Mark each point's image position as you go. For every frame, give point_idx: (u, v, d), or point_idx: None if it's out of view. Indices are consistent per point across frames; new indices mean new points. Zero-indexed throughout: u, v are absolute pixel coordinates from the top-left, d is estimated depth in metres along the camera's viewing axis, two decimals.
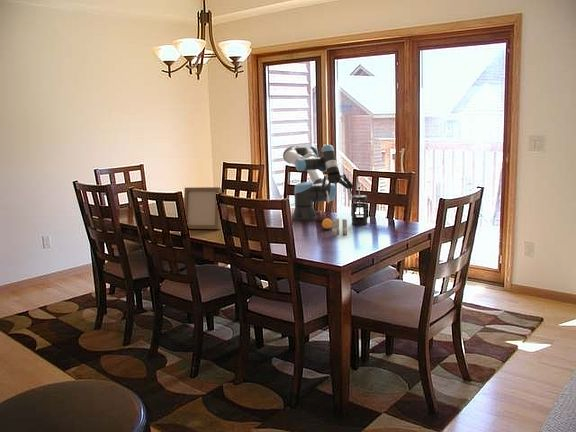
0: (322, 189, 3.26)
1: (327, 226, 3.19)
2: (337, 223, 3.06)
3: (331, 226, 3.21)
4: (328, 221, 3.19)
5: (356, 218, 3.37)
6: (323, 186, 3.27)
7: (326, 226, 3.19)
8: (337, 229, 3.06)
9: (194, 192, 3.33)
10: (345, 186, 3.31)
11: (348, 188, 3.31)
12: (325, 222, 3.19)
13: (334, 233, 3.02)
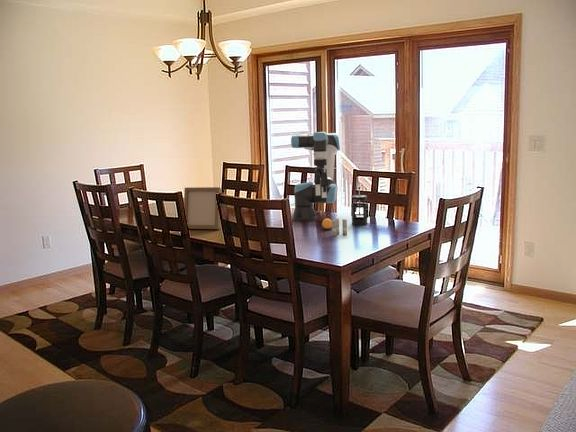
0: (314, 182, 3.33)
1: (327, 226, 3.19)
2: (337, 223, 3.06)
3: (331, 226, 3.21)
4: (328, 221, 3.19)
5: (356, 218, 3.37)
6: (314, 178, 3.32)
7: (326, 226, 3.19)
8: (337, 229, 3.06)
9: (194, 192, 3.33)
10: None
11: None
12: (325, 222, 3.19)
13: (334, 233, 3.02)
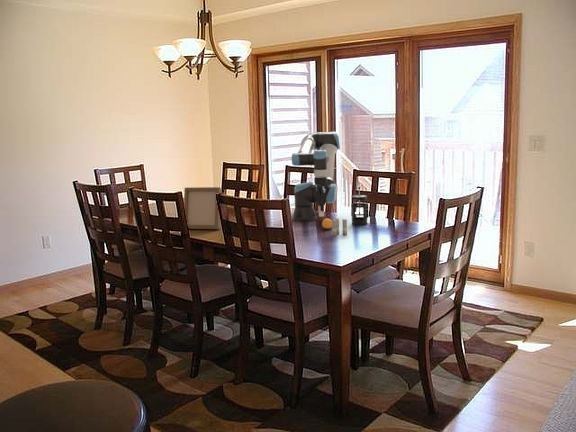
0: (317, 202, 3.31)
1: (327, 226, 3.19)
2: (337, 223, 3.06)
3: (331, 226, 3.21)
4: (328, 221, 3.19)
5: (356, 218, 3.37)
6: (317, 198, 3.31)
7: (326, 226, 3.19)
8: (337, 229, 3.06)
9: (194, 192, 3.33)
10: None
11: None
12: (325, 222, 3.19)
13: (334, 233, 3.02)
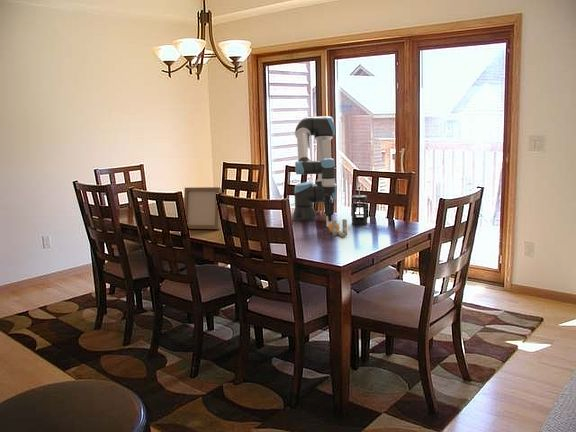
0: (325, 212, 3.20)
1: None
2: (341, 236, 3.01)
3: None
4: None
5: (356, 218, 3.37)
6: (324, 208, 3.20)
7: None
8: None
9: (194, 192, 3.33)
10: None
11: None
12: None
13: (334, 233, 3.02)
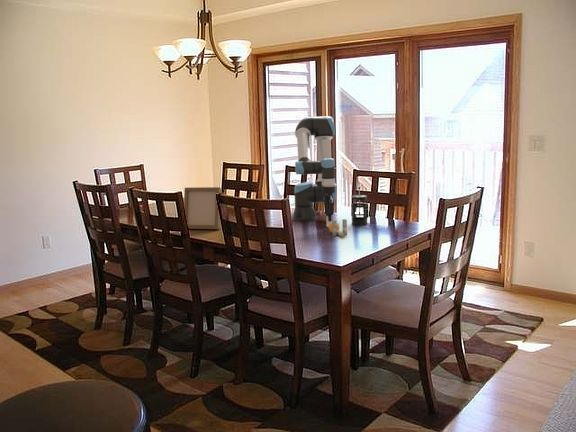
0: (325, 212, 3.20)
1: None
2: (341, 236, 3.01)
3: None
4: None
5: (356, 218, 3.37)
6: (324, 208, 3.20)
7: None
8: None
9: (194, 192, 3.33)
10: None
11: None
12: None
13: (334, 233, 3.02)
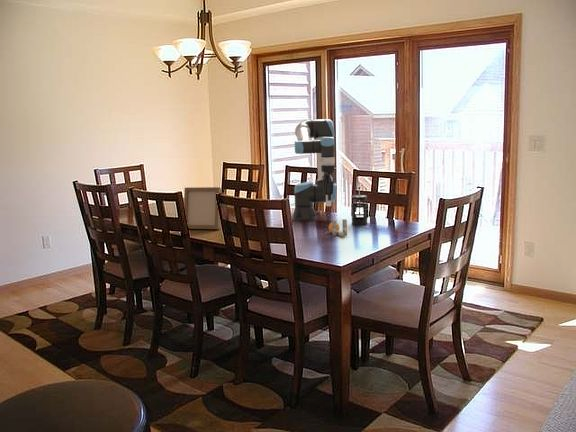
0: (324, 191, 3.18)
1: None
2: (341, 236, 3.01)
3: None
4: None
5: (356, 218, 3.37)
6: (324, 187, 3.18)
7: None
8: None
9: (194, 192, 3.33)
10: None
11: None
12: None
13: (334, 233, 3.02)
